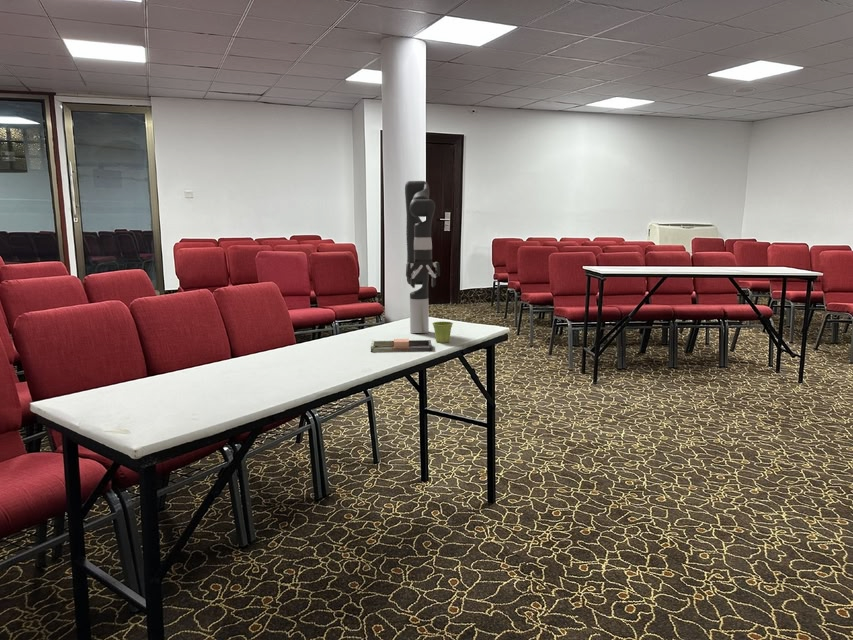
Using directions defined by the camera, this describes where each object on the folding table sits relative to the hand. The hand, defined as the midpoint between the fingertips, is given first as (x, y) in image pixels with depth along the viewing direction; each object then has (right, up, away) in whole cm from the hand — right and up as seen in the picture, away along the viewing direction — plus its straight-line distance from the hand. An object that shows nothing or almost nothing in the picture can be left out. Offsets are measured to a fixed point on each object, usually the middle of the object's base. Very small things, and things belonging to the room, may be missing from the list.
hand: (423, 287), depth 245 cm
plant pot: (+9, -24, +24) cm, 35 cm away
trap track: (-10, -26, +10) cm, 30 cm away
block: (-10, -27, +10) cm, 30 cm away
